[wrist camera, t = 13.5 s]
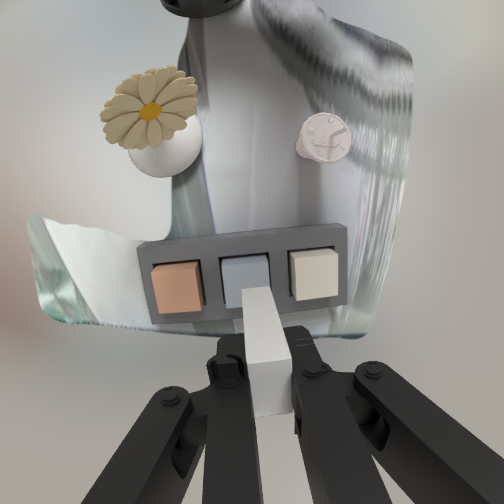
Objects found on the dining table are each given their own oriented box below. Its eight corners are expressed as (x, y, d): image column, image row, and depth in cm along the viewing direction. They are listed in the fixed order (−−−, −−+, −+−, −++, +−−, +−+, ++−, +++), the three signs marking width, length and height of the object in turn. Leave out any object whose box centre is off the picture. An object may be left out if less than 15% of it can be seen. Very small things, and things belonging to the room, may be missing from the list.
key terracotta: (159, 262, 42) (150, 272, 37) (198, 258, 42) (194, 268, 37) (166, 300, 43) (159, 313, 38) (204, 296, 43) (201, 310, 38)
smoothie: (334, 158, 41) (376, 149, 28) (297, 174, 42) (326, 170, 28) (316, 120, 40) (351, 96, 26) (279, 135, 40) (300, 113, 27)
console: (144, 242, 43) (136, 247, 39) (337, 223, 44) (346, 227, 40) (157, 313, 45) (152, 324, 42) (338, 294, 47) (346, 304, 43)
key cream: (287, 249, 42) (294, 258, 38) (326, 245, 43) (338, 253, 38) (289, 288, 44) (296, 300, 39) (327, 283, 44) (337, 295, 39)
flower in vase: (135, 184, 41) (32, 190, 16) (128, 113, 38) (33, 58, 14) (219, 169, 41) (199, 147, 17) (210, 96, 38) (186, 3, 14)
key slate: (222, 256, 42) (221, 265, 37) (264, 252, 42) (267, 261, 37) (227, 294, 43) (226, 308, 39) (267, 290, 44) (271, 303, 39)
